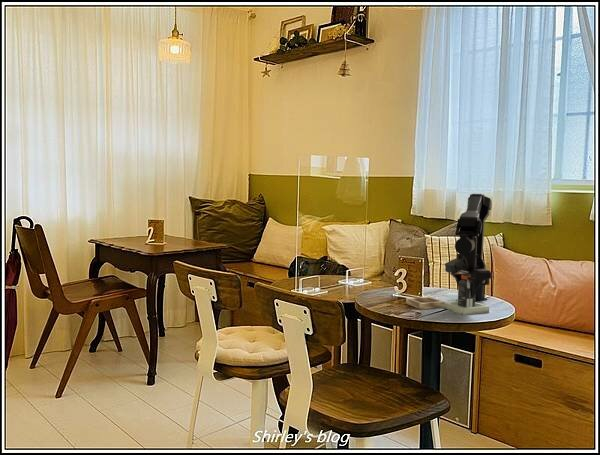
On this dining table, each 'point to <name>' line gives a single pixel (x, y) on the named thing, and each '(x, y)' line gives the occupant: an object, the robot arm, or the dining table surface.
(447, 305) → the tray
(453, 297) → the dining table surface
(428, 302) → the socket collar
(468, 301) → the pill bottle
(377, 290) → the dining table surface
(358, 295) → the dining table surface
